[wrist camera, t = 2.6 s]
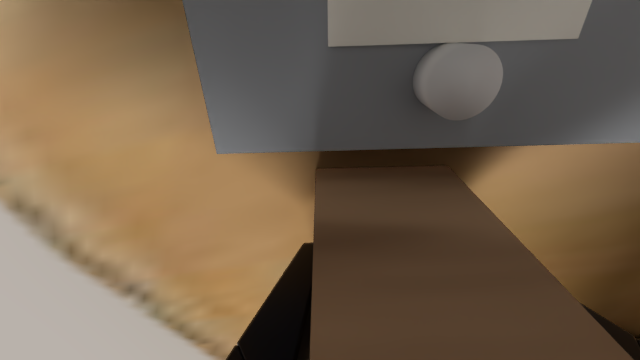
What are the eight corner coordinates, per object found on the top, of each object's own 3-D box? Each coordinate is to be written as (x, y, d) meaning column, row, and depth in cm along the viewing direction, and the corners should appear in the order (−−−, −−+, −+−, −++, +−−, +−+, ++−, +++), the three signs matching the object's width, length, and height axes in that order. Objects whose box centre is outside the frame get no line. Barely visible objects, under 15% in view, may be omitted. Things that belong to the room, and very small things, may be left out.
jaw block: (426, 262, 10) (541, 508, 5) (320, 264, 10) (319, 510, 5) (447, 165, 8) (669, 396, 3) (316, 168, 8) (308, 402, 3)
